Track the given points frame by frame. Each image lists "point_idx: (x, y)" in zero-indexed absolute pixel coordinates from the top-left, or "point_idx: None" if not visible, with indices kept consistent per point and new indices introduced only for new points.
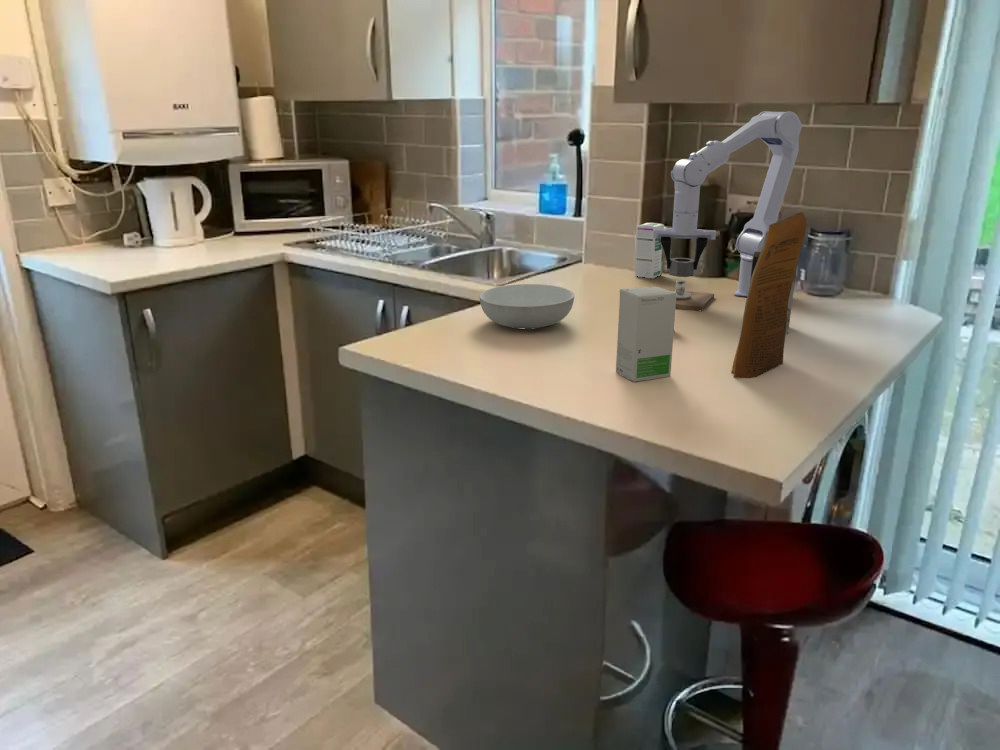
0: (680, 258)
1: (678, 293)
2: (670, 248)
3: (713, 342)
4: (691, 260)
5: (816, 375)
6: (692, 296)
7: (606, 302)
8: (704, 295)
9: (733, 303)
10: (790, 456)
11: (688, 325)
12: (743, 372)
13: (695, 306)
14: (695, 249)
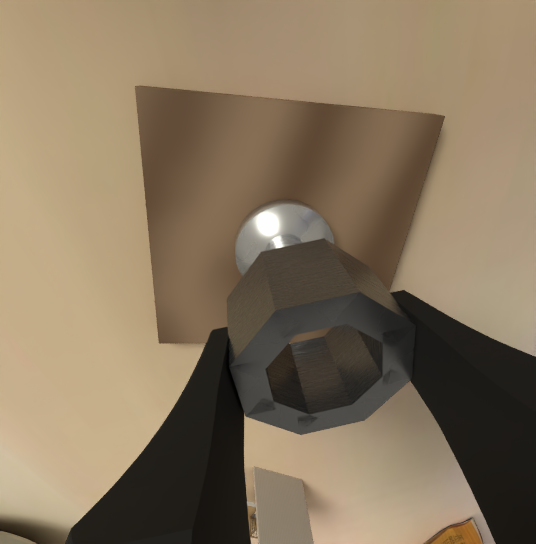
0: (306, 327)
1: None
2: (249, 542)
3: (381, 502)
4: (393, 356)
5: None
6: (336, 211)
7: (15, 349)
8: (392, 171)
9: (499, 191)
10: None
11: (332, 447)
12: None
13: None
14: (476, 383)
